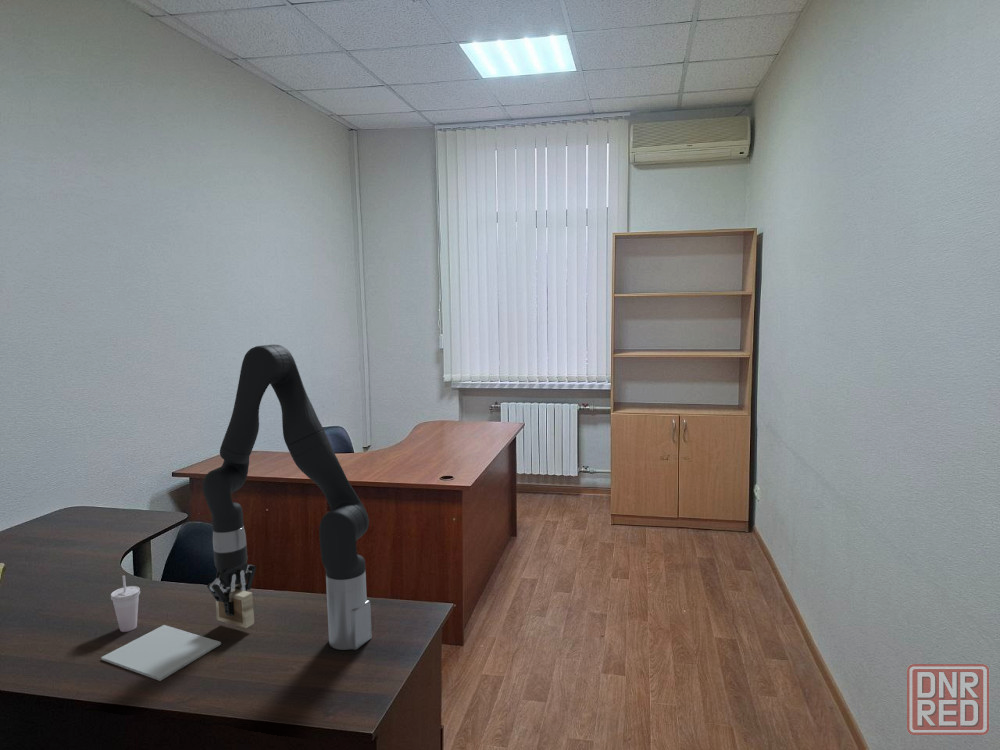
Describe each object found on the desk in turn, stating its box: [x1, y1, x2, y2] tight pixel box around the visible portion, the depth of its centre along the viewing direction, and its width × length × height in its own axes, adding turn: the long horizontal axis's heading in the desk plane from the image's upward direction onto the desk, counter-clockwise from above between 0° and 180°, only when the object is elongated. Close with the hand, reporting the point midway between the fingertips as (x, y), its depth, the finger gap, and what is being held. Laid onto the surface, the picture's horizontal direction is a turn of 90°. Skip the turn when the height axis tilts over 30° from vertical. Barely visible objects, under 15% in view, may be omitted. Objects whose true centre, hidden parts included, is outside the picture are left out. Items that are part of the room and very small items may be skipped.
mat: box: [100, 624, 222, 682], centre depth 147 cm, size 20×16×1 cm
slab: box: [215, 587, 255, 629], centre depth 157 cm, size 10×3×8 cm, turn 65°
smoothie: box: [110, 574, 141, 633], centre depth 158 cm, size 6×6×14 cm
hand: (235, 611), depth 157 cm, fingers closed on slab, 2 cm apart
